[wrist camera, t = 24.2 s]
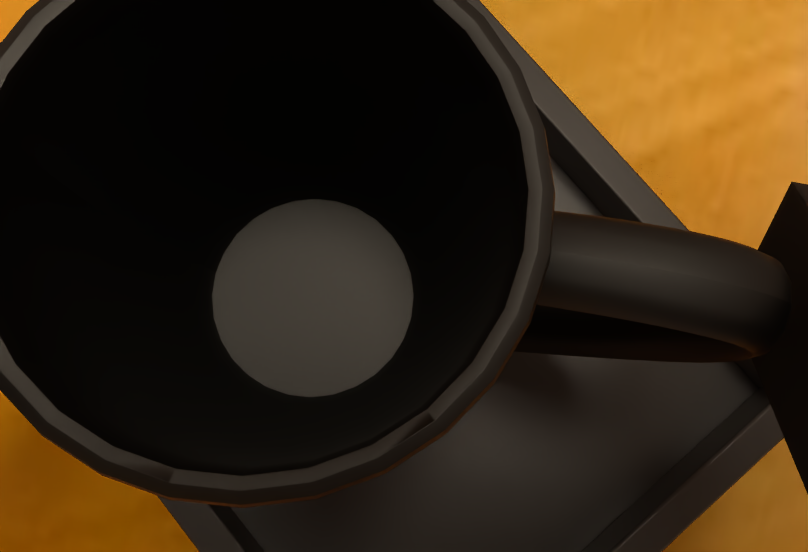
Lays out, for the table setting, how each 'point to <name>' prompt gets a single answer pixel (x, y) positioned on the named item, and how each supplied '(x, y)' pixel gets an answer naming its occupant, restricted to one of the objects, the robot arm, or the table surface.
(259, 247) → the mug
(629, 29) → the table surface
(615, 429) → the tray
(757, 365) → the robot arm
